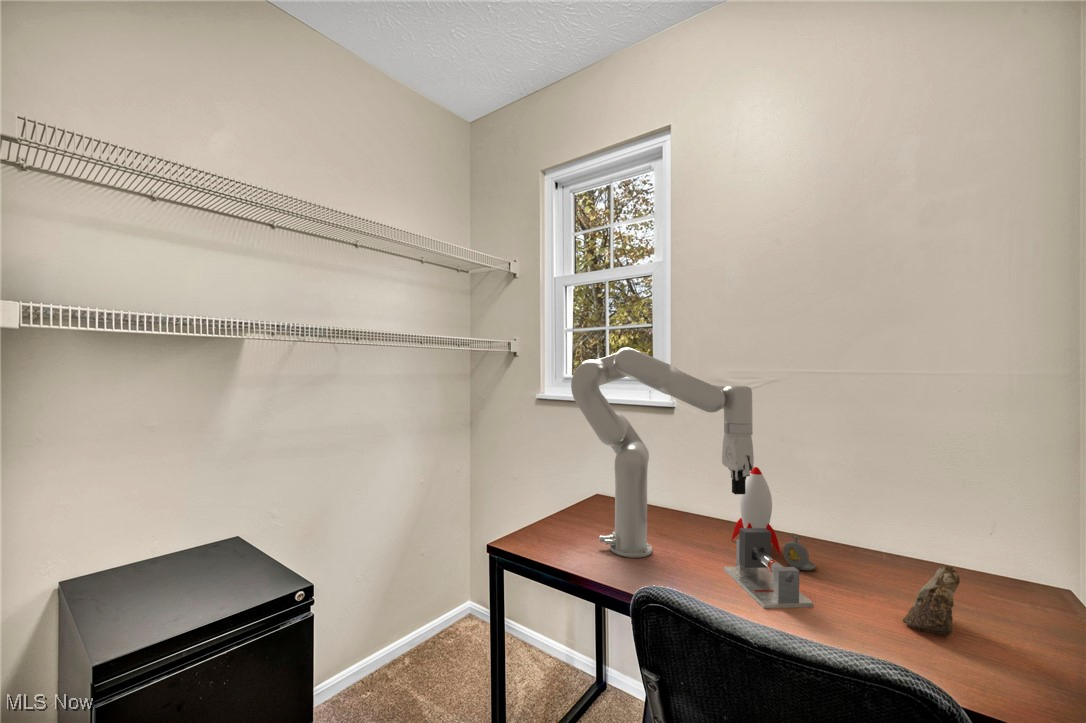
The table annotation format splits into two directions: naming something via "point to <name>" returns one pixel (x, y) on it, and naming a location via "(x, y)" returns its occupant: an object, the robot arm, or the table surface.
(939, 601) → the rock
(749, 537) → the collar
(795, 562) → the pocket watch
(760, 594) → the machine vise
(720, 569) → the table surface
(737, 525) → the rocket
